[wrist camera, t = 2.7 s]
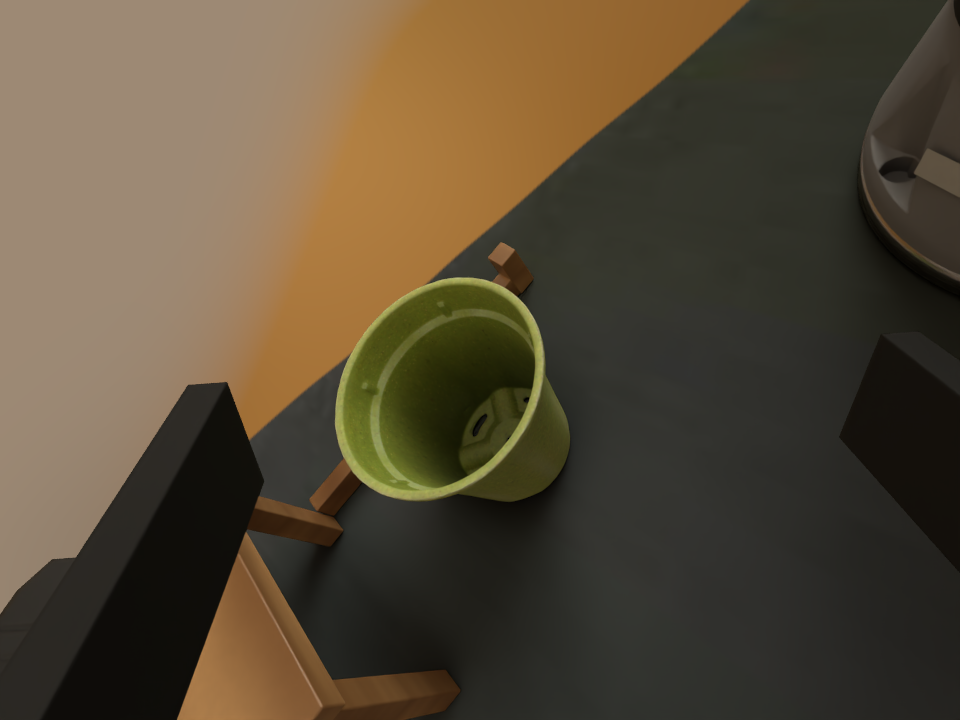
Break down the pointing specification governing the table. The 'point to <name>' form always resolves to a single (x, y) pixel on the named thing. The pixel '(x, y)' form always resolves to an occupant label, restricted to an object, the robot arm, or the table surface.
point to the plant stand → (280, 638)
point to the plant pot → (452, 398)
